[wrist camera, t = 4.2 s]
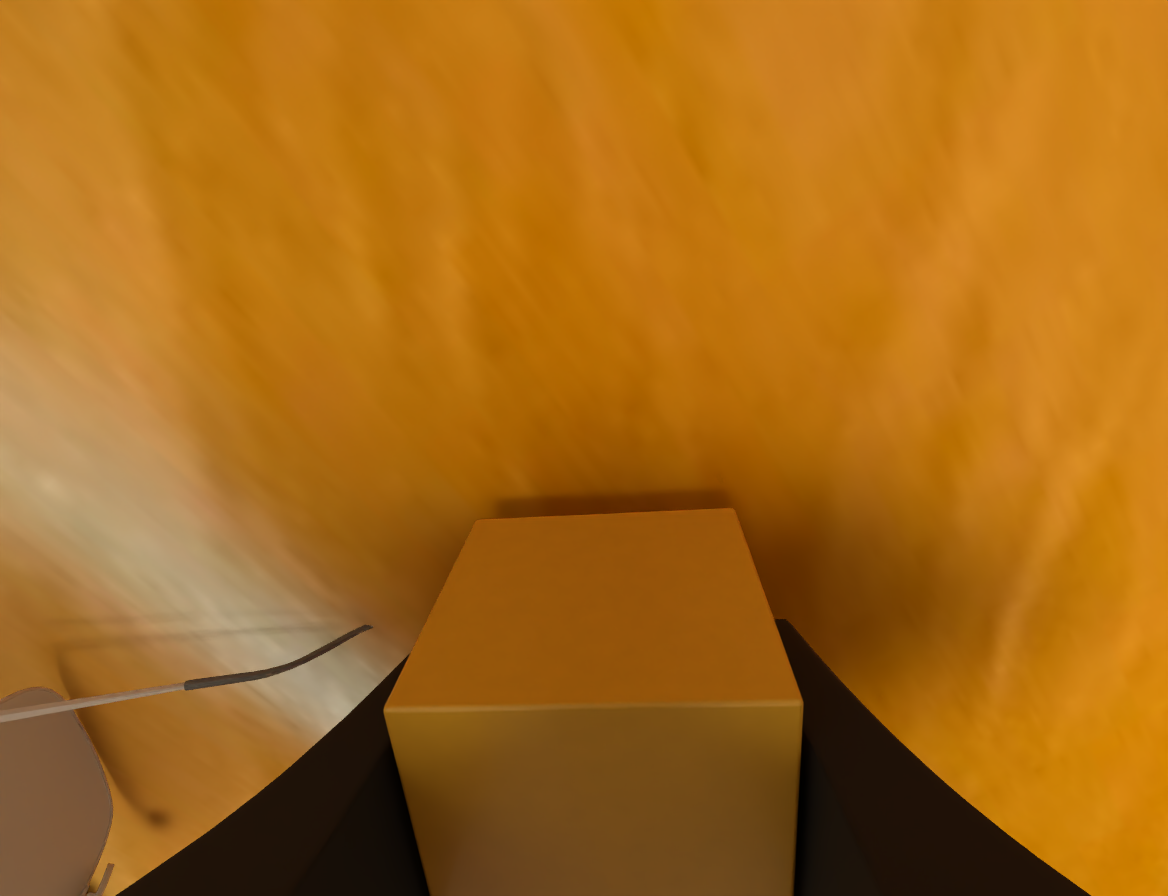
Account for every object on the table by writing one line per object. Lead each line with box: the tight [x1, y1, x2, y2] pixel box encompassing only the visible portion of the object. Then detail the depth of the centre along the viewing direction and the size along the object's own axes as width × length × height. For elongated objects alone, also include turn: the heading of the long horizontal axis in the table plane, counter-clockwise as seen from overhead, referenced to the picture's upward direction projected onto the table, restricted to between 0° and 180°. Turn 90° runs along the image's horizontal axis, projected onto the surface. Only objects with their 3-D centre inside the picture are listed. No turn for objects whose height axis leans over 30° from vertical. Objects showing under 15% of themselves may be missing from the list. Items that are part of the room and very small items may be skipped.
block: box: [384, 508, 804, 896], centre depth 9 cm, size 4×4×4 cm
